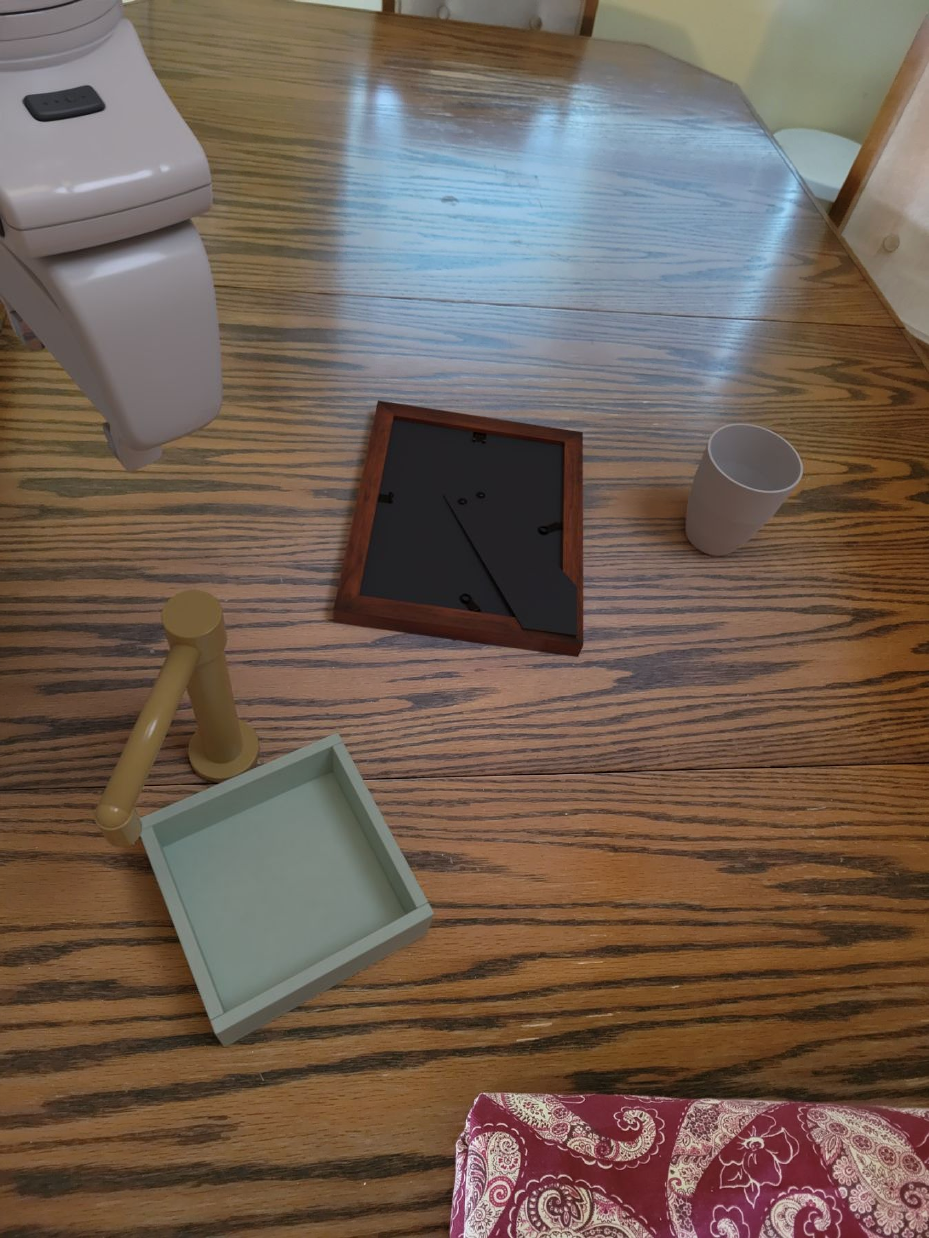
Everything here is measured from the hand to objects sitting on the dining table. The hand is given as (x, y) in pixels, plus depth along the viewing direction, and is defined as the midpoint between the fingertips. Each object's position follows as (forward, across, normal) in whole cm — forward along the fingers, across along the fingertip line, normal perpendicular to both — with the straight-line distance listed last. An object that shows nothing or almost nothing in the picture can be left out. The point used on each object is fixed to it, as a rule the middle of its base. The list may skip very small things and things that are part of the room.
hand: (86, 396), depth 39 cm
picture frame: (+28, -1, +29) cm, 40 cm away
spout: (+15, +9, -3) cm, 18 cm away
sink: (+28, +17, -1) cm, 33 cm away
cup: (+27, +13, +48) cm, 56 cm away
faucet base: (+28, +6, +1) cm, 29 cm away
